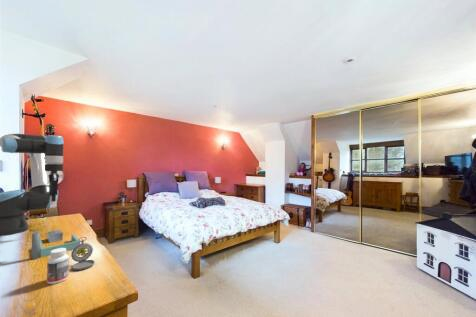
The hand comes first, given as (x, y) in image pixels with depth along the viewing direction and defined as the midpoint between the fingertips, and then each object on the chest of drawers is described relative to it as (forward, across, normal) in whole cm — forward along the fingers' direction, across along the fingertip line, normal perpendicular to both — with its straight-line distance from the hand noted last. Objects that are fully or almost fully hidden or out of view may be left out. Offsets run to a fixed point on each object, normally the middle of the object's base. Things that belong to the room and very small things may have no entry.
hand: (53, 207), depth 112 cm
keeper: (+15, +25, -1) cm, 30 cm away
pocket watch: (+16, +54, +4) cm, 56 cm away
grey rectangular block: (+15, +10, 0) cm, 18 cm away
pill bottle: (+16, +60, -4) cm, 62 cm away
